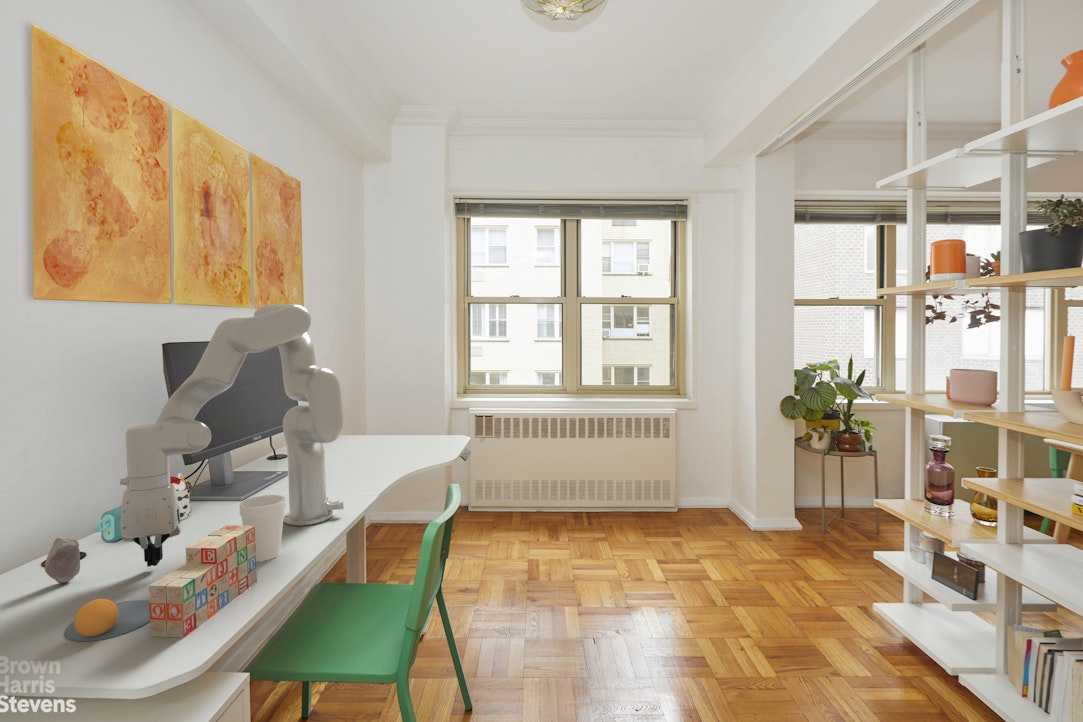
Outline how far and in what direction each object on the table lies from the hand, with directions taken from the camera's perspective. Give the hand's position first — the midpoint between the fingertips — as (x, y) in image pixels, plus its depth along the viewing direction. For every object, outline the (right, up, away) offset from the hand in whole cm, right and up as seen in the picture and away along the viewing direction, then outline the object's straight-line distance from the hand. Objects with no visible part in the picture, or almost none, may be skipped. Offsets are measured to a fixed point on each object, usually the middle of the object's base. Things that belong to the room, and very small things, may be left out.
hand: (153, 563), depth 122 cm
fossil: (-15, -2, -6) cm, 16 cm away
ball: (+8, 0, -25) cm, 27 cm away
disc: (+7, -3, -21) cm, 22 cm away
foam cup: (+21, -1, +7) cm, 22 cm away
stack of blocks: (+22, -3, -16) cm, 27 cm away
